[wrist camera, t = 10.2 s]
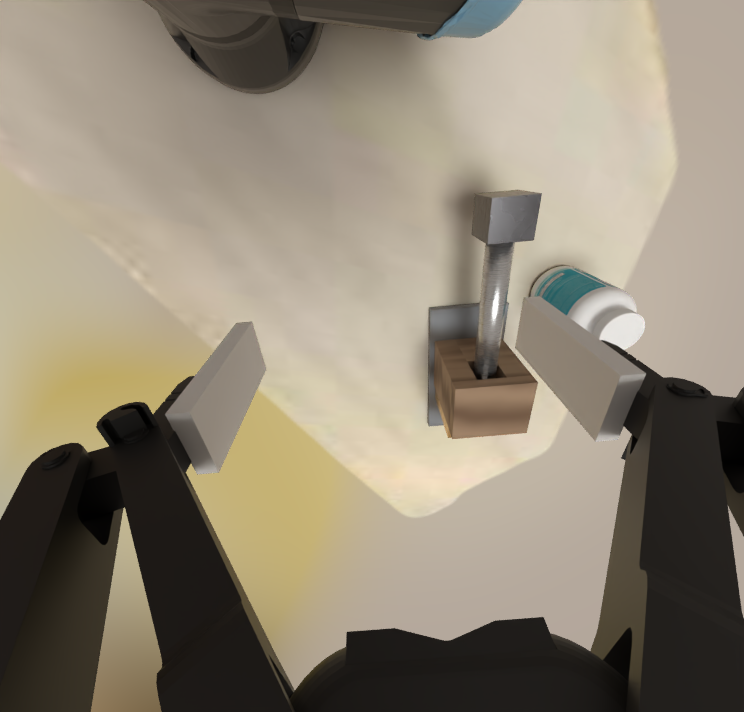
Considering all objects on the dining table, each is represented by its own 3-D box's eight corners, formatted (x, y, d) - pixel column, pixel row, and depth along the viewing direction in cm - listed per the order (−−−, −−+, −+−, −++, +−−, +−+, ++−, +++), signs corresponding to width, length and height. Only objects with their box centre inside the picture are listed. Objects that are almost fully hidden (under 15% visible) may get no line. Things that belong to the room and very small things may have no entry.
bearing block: (429, 307, 46) (451, 353, 35) (505, 300, 46) (552, 344, 35) (427, 422, 57) (444, 484, 46) (489, 417, 57) (520, 478, 46)
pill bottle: (523, 315, 47) (576, 364, 36) (534, 265, 43) (598, 301, 32) (573, 313, 47) (643, 361, 36) (589, 263, 44) (672, 298, 32)
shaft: (474, 193, 33) (492, 198, 29) (517, 189, 33) (541, 193, 28) (460, 377, 45) (471, 400, 40) (492, 375, 45) (506, 397, 40)
